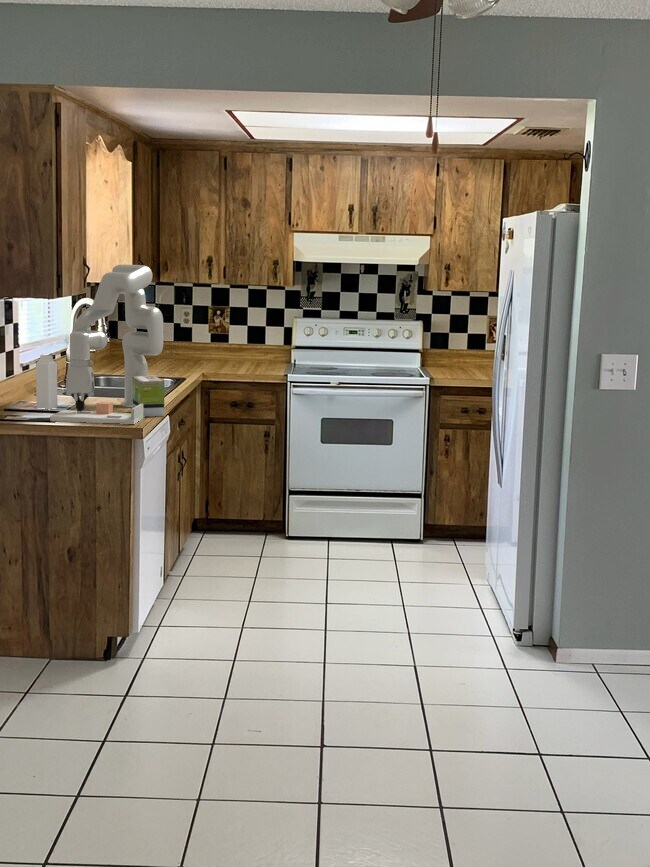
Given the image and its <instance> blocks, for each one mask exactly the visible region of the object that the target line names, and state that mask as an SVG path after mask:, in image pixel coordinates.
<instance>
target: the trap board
mask: <svg viewBox="0 0 650 867" xmlns="http://www.w3.org/2000/svg"><path fill="white" fill-rule="evenodd" d="M49 419H50V420H49V421H50V422H60V423H61V422H62V423H63V422H65V423H80V422H86V423H87V424H102V423H120V424H119V425H124V424H135V423H136V424H138V423H139V422H141V421H142V420H144V417H143V404H139V405H138V406H136V407H134V408H132V407H131V409H130V413H129V412H115V411H113V413H111V414H96V411H91V410H90V411H89V410H87V411H86V410H83V411H77V410H67V409H62V410H60V411H58V412H56V413H54V414H52V415H50V416H49ZM141 419H142V420H141ZM140 420H141V421H140ZM138 421H139V422H138ZM137 422H138V423H137ZM86 423H85V424H86ZM136 424H135V425H136Z"/></svg>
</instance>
